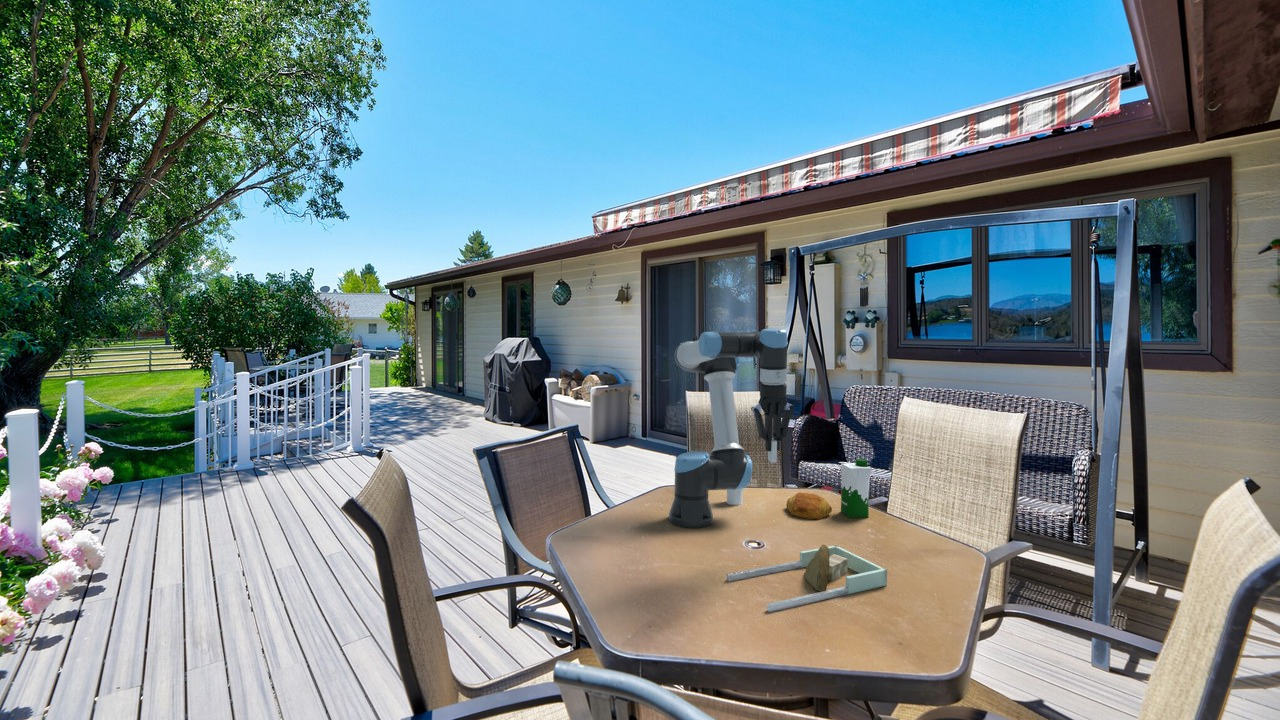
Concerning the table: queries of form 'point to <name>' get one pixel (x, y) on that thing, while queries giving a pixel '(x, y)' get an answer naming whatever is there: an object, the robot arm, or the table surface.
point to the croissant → (808, 506)
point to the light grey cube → (834, 570)
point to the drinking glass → (734, 496)
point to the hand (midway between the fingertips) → (772, 461)
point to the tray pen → (868, 571)
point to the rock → (819, 569)
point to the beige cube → (842, 561)
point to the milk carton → (855, 489)
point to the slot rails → (793, 601)
